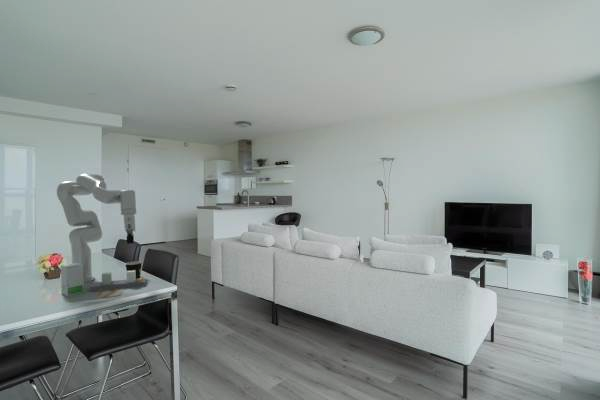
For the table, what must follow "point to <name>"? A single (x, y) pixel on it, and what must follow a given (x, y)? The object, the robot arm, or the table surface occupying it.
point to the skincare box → (72, 279)
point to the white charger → (131, 276)
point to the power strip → (117, 284)
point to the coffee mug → (134, 268)
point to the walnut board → (109, 293)
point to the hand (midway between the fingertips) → (130, 242)
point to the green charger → (106, 278)
